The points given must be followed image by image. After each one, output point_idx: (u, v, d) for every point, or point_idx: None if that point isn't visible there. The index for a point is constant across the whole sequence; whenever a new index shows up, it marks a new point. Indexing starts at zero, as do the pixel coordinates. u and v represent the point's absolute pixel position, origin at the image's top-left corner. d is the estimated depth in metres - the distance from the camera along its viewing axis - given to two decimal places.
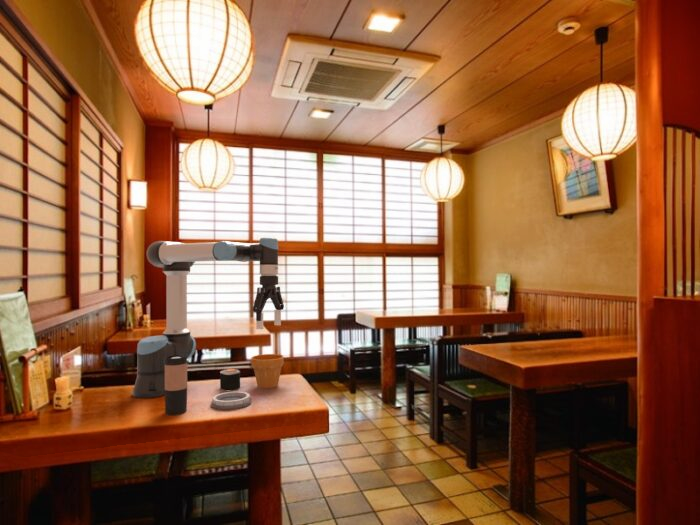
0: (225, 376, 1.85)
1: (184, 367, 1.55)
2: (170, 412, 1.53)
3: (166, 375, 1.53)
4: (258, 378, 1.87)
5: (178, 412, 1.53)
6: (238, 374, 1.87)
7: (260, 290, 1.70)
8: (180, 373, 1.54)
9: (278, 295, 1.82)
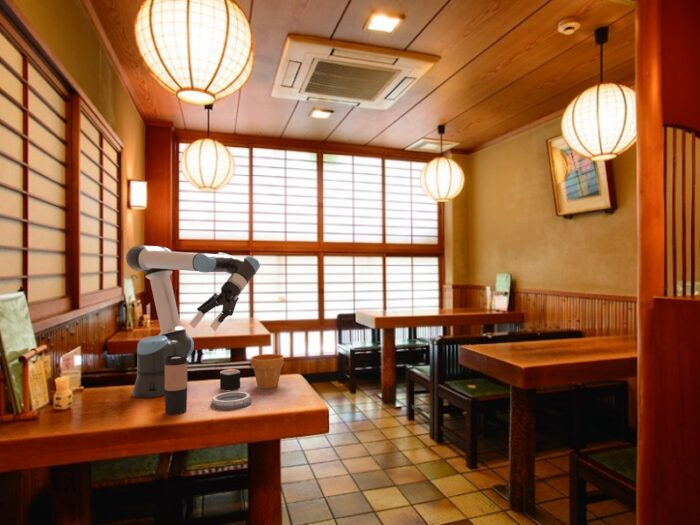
0: (225, 376, 1.85)
1: (184, 367, 1.55)
2: (170, 412, 1.53)
3: (166, 375, 1.53)
4: (258, 378, 1.87)
5: (178, 412, 1.53)
6: (238, 374, 1.87)
7: (236, 298, 1.70)
8: (180, 373, 1.54)
9: None
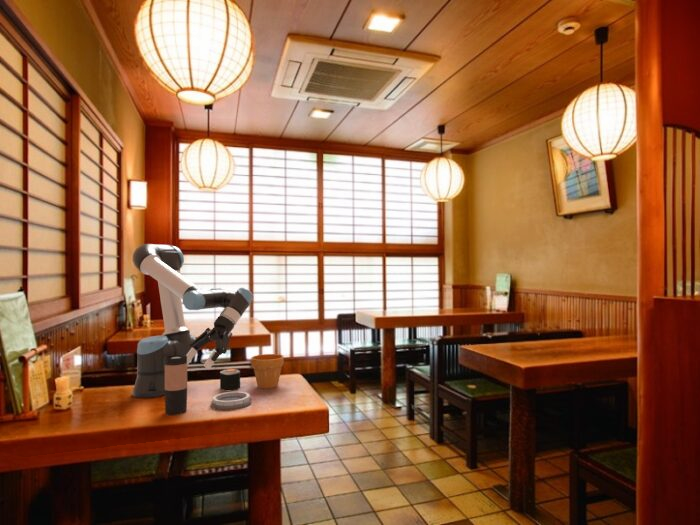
0: (225, 376, 1.85)
1: (184, 367, 1.55)
2: (170, 412, 1.53)
3: (166, 375, 1.53)
4: (258, 378, 1.87)
5: (178, 412, 1.53)
6: (238, 374, 1.87)
7: (230, 334, 1.66)
8: (180, 373, 1.54)
9: None
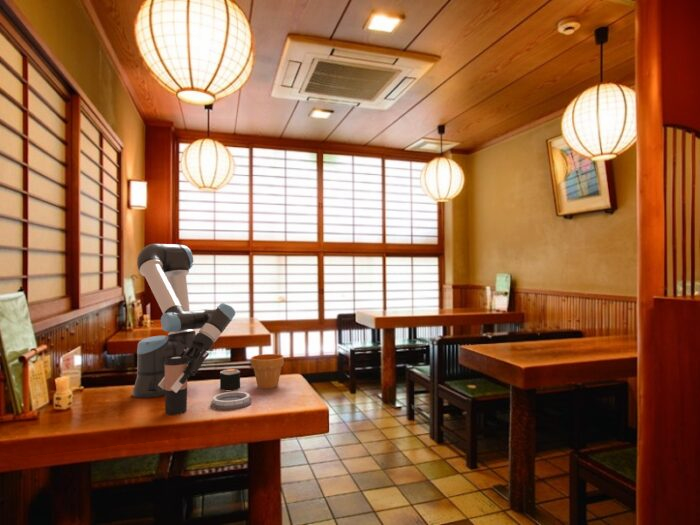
0: (225, 376, 1.85)
1: (184, 367, 1.55)
2: (170, 412, 1.53)
3: (166, 375, 1.53)
4: (258, 378, 1.87)
5: (178, 412, 1.53)
6: (238, 374, 1.87)
7: (205, 355, 1.59)
8: (180, 373, 1.54)
9: None
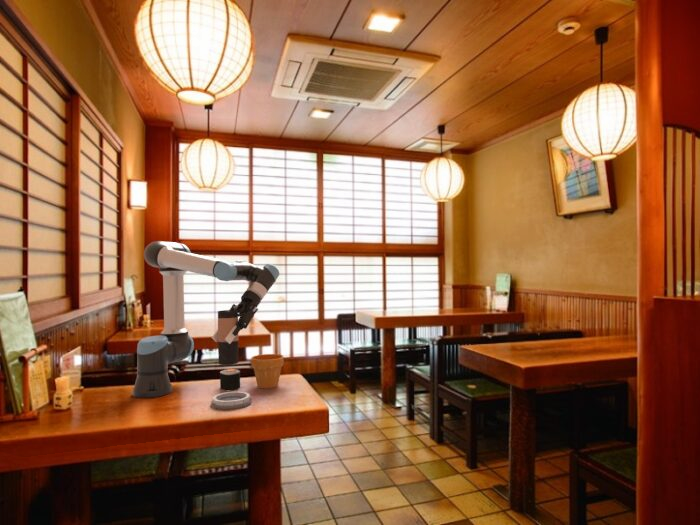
0: (225, 376, 1.85)
1: (236, 320, 1.64)
2: (224, 362, 1.61)
3: (219, 327, 1.62)
4: (258, 378, 1.87)
5: (231, 362, 1.62)
6: (238, 374, 1.87)
7: (255, 310, 1.68)
8: (233, 326, 1.63)
9: None
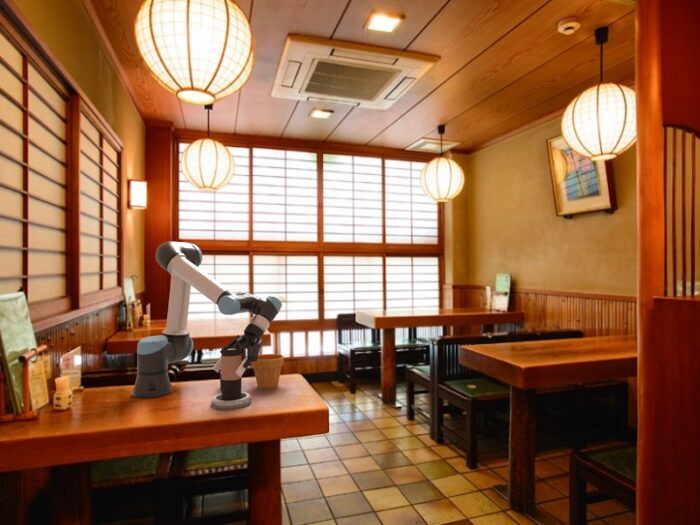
0: None
1: (239, 358, 1.65)
2: (227, 400, 1.62)
3: (223, 365, 1.63)
4: (258, 378, 1.87)
5: None
6: None
7: (260, 342, 1.69)
8: (236, 364, 1.63)
9: None
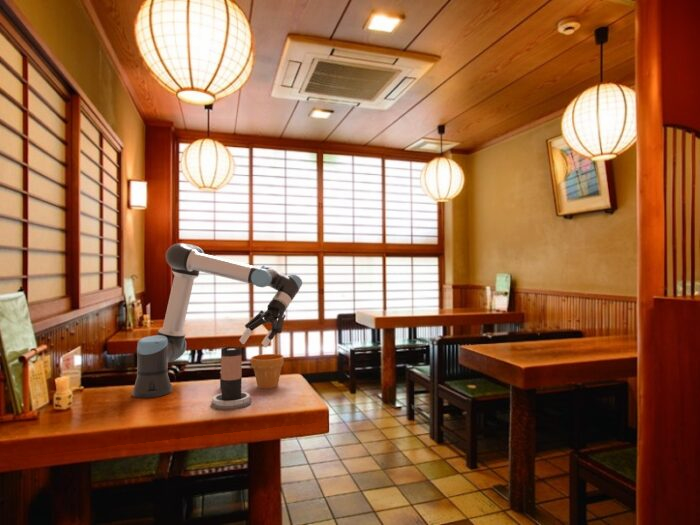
0: None
1: (239, 358, 1.65)
2: (227, 400, 1.62)
3: (223, 365, 1.63)
4: (258, 378, 1.87)
5: None
6: None
7: (283, 316, 1.79)
8: (236, 364, 1.63)
9: None
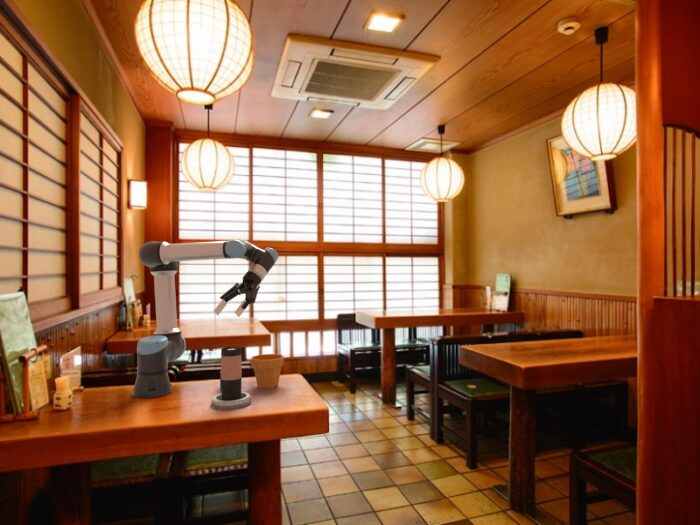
0: None
1: (239, 358, 1.65)
2: (227, 400, 1.62)
3: (223, 365, 1.63)
4: (258, 378, 1.87)
5: None
6: None
7: (258, 287, 1.80)
8: (236, 364, 1.63)
9: None
